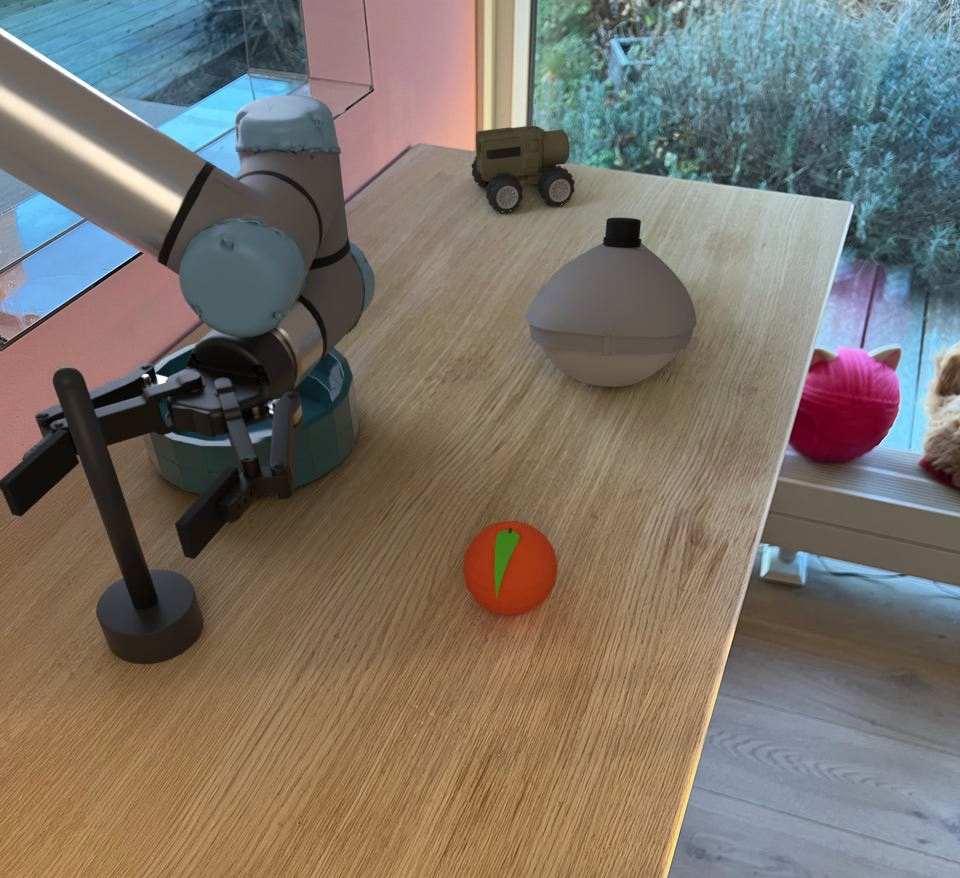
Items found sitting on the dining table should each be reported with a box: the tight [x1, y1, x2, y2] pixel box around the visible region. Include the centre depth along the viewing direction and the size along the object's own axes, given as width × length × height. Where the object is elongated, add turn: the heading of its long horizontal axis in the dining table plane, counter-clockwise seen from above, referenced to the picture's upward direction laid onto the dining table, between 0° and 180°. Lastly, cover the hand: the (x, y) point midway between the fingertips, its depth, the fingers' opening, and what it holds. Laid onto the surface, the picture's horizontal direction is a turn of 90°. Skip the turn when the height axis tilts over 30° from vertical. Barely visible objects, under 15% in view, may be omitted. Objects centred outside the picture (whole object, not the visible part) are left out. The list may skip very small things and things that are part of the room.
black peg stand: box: [52, 365, 204, 665], centre depth 69 cm, size 7×7×22 cm
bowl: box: [142, 342, 360, 496], centre depth 92 cm, size 19×19×6 cm
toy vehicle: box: [470, 98, 576, 212], centre depth 127 cm, size 10×11×12 cm
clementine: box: [462, 520, 558, 617], centre depth 75 cm, size 8×7×7 cm
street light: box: [524, 217, 698, 388], centre depth 101 cm, size 30×16×14 cm, turn 171°
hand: (94, 520), depth 67 cm, fingers open, 13 cm apart
